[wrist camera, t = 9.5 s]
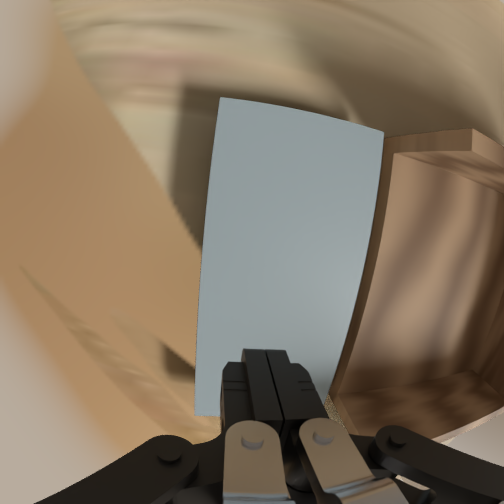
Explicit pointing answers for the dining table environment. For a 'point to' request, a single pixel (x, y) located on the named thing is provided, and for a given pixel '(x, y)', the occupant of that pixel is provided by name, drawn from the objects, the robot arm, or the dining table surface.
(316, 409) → the robot arm
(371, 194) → the rectangular panel
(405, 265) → the crate
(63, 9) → the dining table surface
